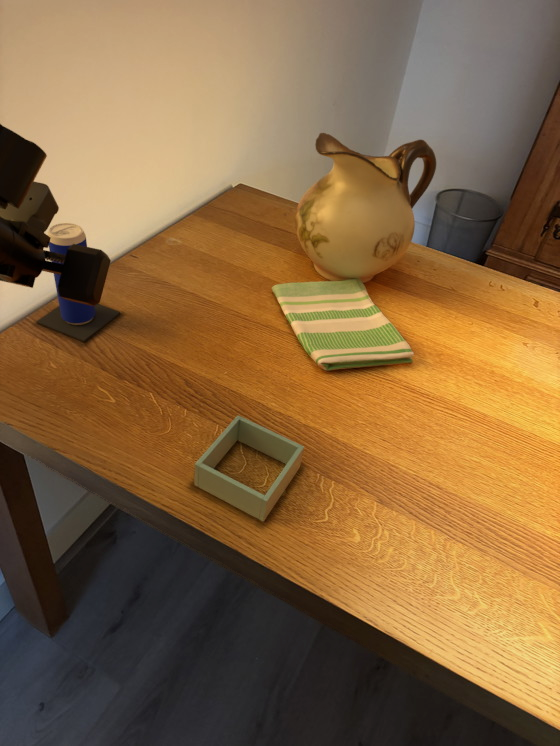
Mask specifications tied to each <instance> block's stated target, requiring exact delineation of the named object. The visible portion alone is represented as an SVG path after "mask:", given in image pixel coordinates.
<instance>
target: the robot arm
mask: <svg viewBox="0 0 560 746" xmlns="http://www.w3.org/2000/svg"><path fill="white" fill-rule="evenodd" d="M47 157H48V155H47V153H46V152H45V150H44V149H42V148H41V146H39V145H38V144H37V143H36V142H33V141H31V140H29V139H26V138H24V137H23V136H22V135H20V134H18V133H17V132H15V131H13V130H11V129H10V128H9V127H6V126H4V125H2V123H0V282H4V283H9V284H13V285H18V286H21V287H26V288H31V289H34V285H35V281H36V278H37V279H38V277H39V276H40V275H41V274H42V272H45V273H50V274H53V275H54V274H59V275H61V276H60V279H59V283H58V292H59V297H61V298H64V299H66V300H70V301H73V302H78V303H82V304H86V305H91V306H95V305H97V304H100V303H101V301H102V300H101V299H102V295H103V291H104V288H105V284H106V281H107V277H108V272H109V269H110V265H111V261H112V259H111V258H110V256H109V255H108V254H107V253H106V252H105V251H104V250H102V249H99V248H95V247H91V246H87V247H86V246H81V245H76V244H73V245H72V246H70V247H69V248H68V250H67V253H66V255H64V254H60V253H55V252H50V250H46V249H49V242H50V239H51V237H49V236H48V234H46V233H45V232H46V231H47V230H49V228H50V225H51V223H52V221H53V219H54V217H55V216H56V215H57V214H58V212H59V210H60V207H59V205H58V203H57V201H56V199H55V197H54V194H53V193H52V191H51V189H50V187H49V185H48V184H46V183H44V182H39V181H35V179H36V178H37V176H38V174H39V172H40V170H41V168H42V166H43V165H44V162H45V160H46V159H47ZM52 260H53V261H54V262H52ZM55 261H56V262H59V263H55ZM60 263H63V264H60Z"/></svg>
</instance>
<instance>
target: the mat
mask: <svg viewBox="0 0 560 746" xmlns="http://www.w3.org/2000/svg"><path fill="white" fill-rule="evenodd" d="M120 315H121V311H118V310H116V309H113V308H110V307H108V306H105V305H103V304H100V303H98V304H97V305H95V316H94V318H93V319H92V320H91V321H90V322H88V323H86V324H83V325H72V324H69V323H67V322H66V321H65V320H63V319H62V317H61V312H60V307H59V305H58V306H56V307H55V308H54V309H53V310H51V311H50V312H48V313H47V314H45V315H44V316H43V317H41V318H39V319H38V320H36V324H37V325H40V326H43V327H45V328H47V329H49V330H53V331H55V332H57V333H60V334H62V335H64V336H67V337H70V338H71V339H75V340H77V341H80V342H82V343H86V342H87V341H88V340H89V339H90V338H92V337H93V336H94V335H96V334H97V333H98V332H100V331H101V330H102V329H103V328H104V327H106V326H107V325H108V324H110V323H111V322H112V321H113V320H115V319H116V318H117V317H118V316H120Z"/></svg>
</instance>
